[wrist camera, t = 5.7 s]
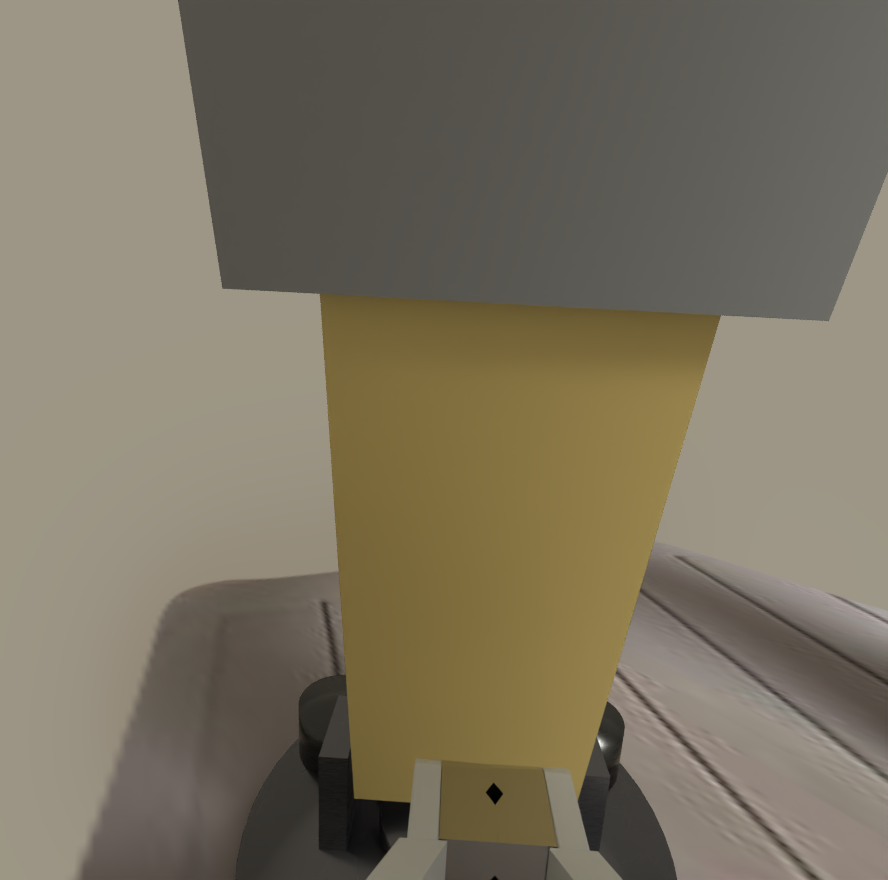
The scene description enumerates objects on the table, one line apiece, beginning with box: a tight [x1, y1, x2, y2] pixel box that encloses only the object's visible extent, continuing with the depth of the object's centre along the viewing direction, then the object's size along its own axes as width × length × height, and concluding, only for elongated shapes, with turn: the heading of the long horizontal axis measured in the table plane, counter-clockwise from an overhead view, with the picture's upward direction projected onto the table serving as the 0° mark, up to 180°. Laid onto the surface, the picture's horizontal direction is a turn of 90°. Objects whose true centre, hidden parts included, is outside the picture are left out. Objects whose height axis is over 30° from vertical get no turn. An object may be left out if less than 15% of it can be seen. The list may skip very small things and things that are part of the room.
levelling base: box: [236, 675, 677, 880], centre depth 20 cm, size 16×16×7 cm
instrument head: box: [178, 0, 888, 803], centre depth 15 cm, size 8×10×26 cm
